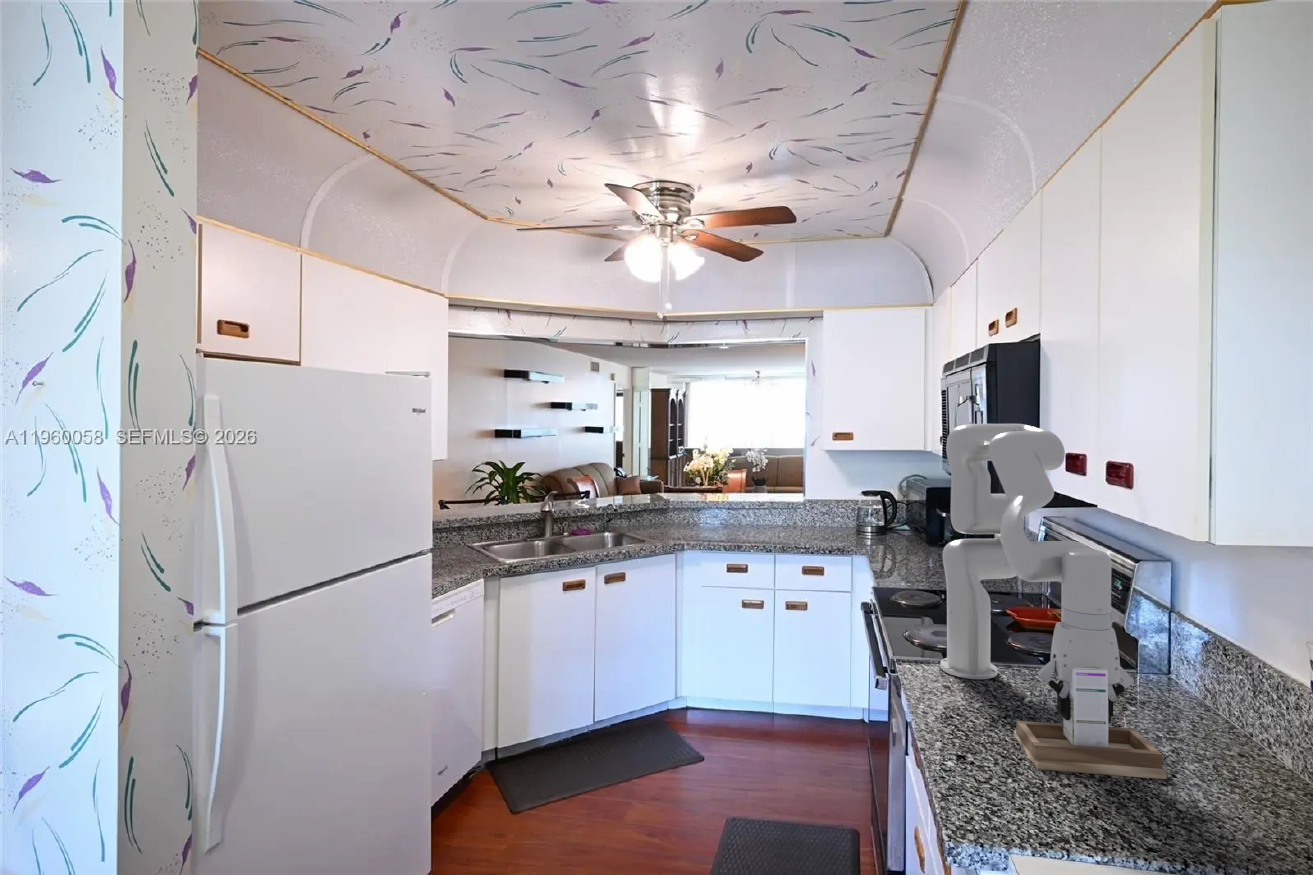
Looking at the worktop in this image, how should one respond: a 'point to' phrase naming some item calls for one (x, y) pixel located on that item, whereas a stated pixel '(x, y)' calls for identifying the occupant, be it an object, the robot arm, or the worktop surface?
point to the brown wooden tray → (1090, 751)
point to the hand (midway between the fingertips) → (1084, 717)
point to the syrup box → (1088, 708)
